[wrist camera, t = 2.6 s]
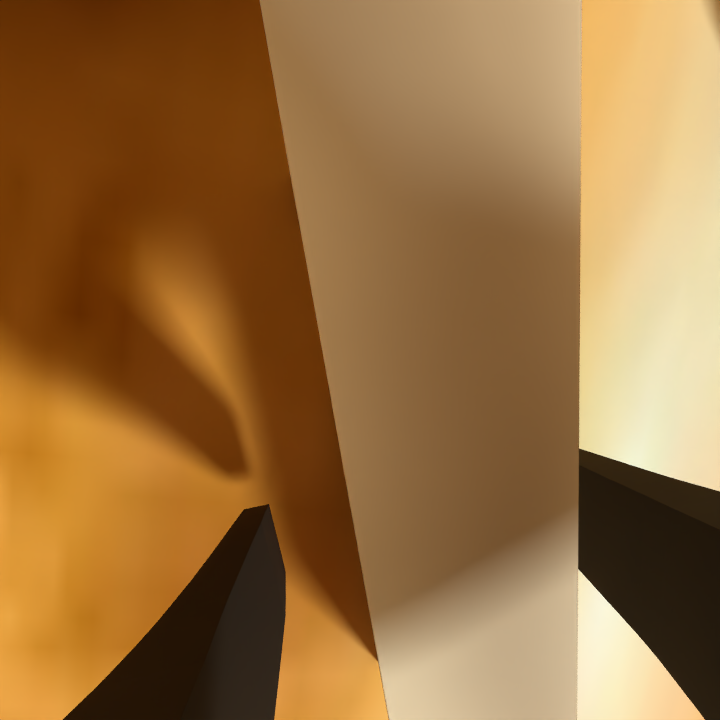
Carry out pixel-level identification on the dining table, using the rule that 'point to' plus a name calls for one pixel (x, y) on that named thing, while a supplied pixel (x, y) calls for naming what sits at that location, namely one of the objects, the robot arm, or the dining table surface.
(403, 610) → the ash notched plate
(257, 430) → the dining table surface
